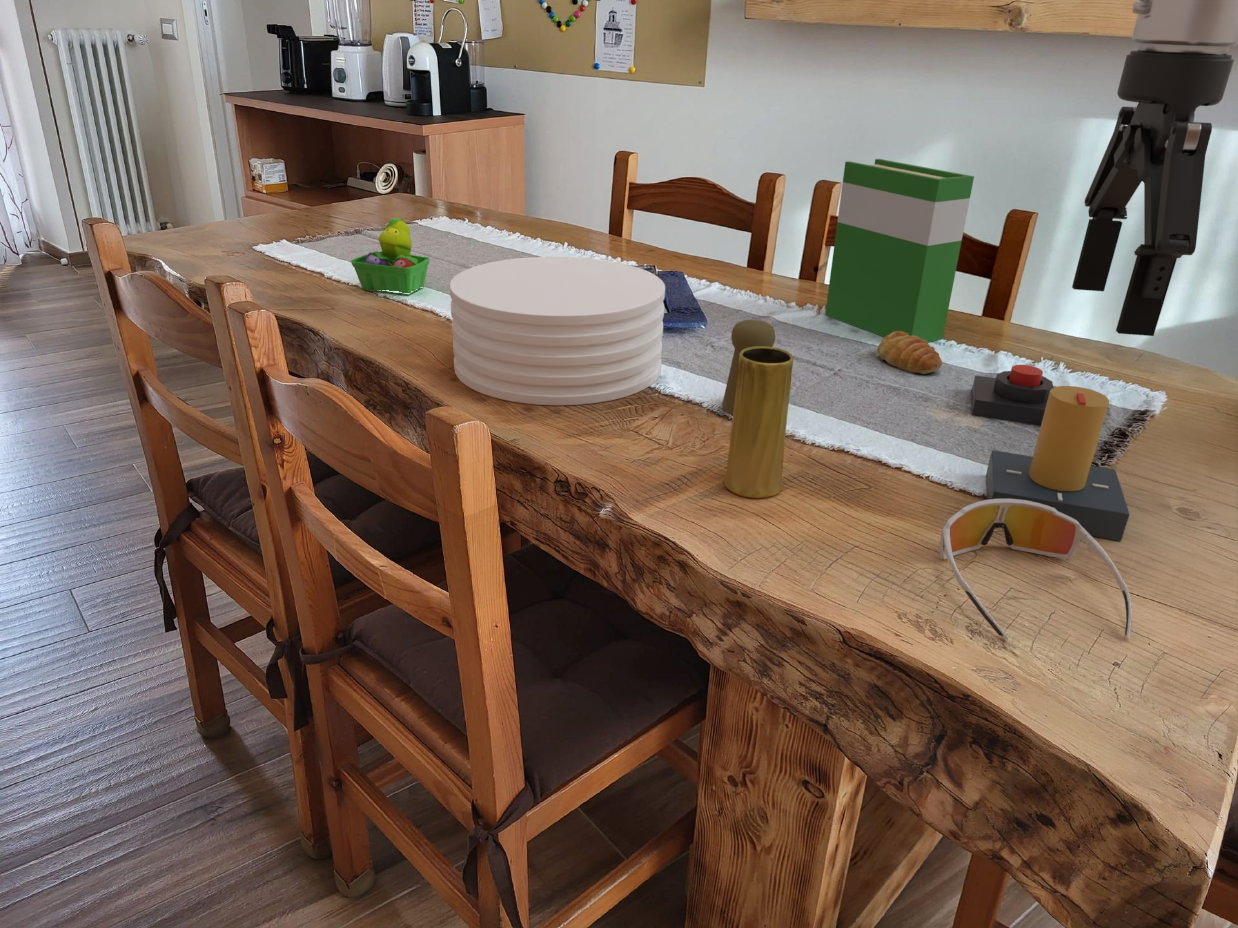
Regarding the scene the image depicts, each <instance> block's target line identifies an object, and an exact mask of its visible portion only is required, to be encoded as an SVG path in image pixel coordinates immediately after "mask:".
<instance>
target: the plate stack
mask: <svg viewBox="0 0 1238 928" xmlns="http://www.w3.org/2000/svg"><path fill="white" fill-rule="evenodd" d="M449 296H450V299H451V301H450V315H451V319H452V320H451V334H452V337H453V338H452V353H453V355H454V357H453V370H454V373H455V376H456V378H457V379H458V380H459V381H460V382H461V383H462V384H463V385H465V386H466V387H468V388H470V389H471V390H472V391H475V392H477V393H480V394H483V395H485V396H488V397H492V398H495V399H499V400H502V401H508V402H512V403H517V404H518V403H519V404H528V405H535V406H536V405H537V406H582V405H583V406H584V405H591V404H599V403H604V402H605V403H606V402H610V401H615V400H619V399H624V398H626V397H629V396H632V395H635V394H637V393H639V392H642V391H643V390H645V389H647V388H649V387H651V386H652V385H653V384H654V383H656V381H657V380H658V379H659V378H660V375H661V373H662V353H663V339H662V338H663V336H664V322H663V319H664V317H665V303H664V301H665V297H666V285H665V282H664V281H663V280H662V279H661V278H660V277H658V275H655V274H654V273H652V272H650V271H648V270H645V269H644V268H640V267H637V266H634V265H630V264H627V263H621V262H616V261H612V260H605V259H598V258H589V257H588V258H587V257H573V256H533V257H521V258H520V257H518V258H510V259H502V260H496V261H492V262H491V261H490V262H486V263H483V264H478V265H475V266H472V267H469V268H466V269H464V270H462V271H461V272H459V273H457V274H455V276H454V277H452V278H451V279H450V282H449Z"/></svg>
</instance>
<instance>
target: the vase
mask: <svg viewBox="0 0 1238 928" xmlns="http://www.w3.org/2000/svg"><path fill="white" fill-rule="evenodd" d="M794 361H795V359H794V355H793V354H792V353H791V352H789V351H788V350H786V349H783V348H779V347H775V346H773V347H768V346H756V347H749V348H745V349H743V350H742V351H741V352H740V356H739V365H738V375H737V384H736V394H735V403H734V411H733V415H732V422H731V428H730V436H729V437H730V438H729V447H728V456H727V464H726V471H725V474H724V477H723V484H724V486H725V488H726V489H727V490H729V492H731V493H733V494H735V495H738V496H740V497H745V498H749V499H764V498H771V497H774V496H776V495H778V494H779V493H780V492H782V490H783V489H784V482H783V469H784V458H785V447H786V446H785V445H786V433H787V423H788V413H789V412H788V411H789V404H790V395H791V388H792V387H791V386H792V376H793V375H792V373H793V366H794Z"/></svg>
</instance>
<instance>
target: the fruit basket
mask: <svg viewBox="0 0 1238 928" xmlns="http://www.w3.org/2000/svg"><path fill="white" fill-rule="evenodd" d="M378 242H379V245H380V249H381V251H377V250H374V251H370V252H368V253H367V254H364V255H361V256H357V257H356V258H353V259H351V260H350V263H351V265H352V267H353V268H354V271H355V273H356V276H357V278H358V281H359V284H360V287H361V289H362V290H363V291H370V292H371V291H372V292H379V293H387V294H395V295H403V296H410V295H411V294H414V293H416V292H418V291H419V290H422V289H423V288H425V287H424V286H425V281H426V276H427V271H428V266H429V264H430V260H431V258H430V257H427V256H422V255H421V256H420V255H414V254H411V250H412V245H413V243H412V238H411V229H410V226H409V225H408V224H407V223H406V222H405V219H403V218H399V217H393V218H392V219H390V221H389V222H388V224H387V225H386V226H385V229H384V230H383V231H382V232H381V233H380V234H379V236H378ZM420 287H423V288H420ZM419 288H420V289H419ZM416 289H419V290H417V291H415V290H416ZM377 290H381V291H377ZM382 290H389V291H399V292H402V293H411V291H415V292H412V293H411V294H401V293H393V292H386V291H382Z"/></svg>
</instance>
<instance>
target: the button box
mask: <svg viewBox="0 0 1238 928" xmlns="http://www.w3.org/2000/svg"><path fill="white" fill-rule="evenodd" d="M1010 373H1011V370H1004V371H1001V372H999V373H997V374H996V376H995V377H990V376H982V375H974V379H973V383H972V388H971V416H973V417H978V418H986V419H992V420H998V421H1005V422H1006V421H1007V422H1013V423H1020V424H1026V425H1032V426H1033V425H1034V426H1040V427H1041V424H1042V420H1043V416H1044V412H1045V408H1046V404H1047V400H1048V397H1049V393H1050V390H1051V389H1052V388H1054V387H1057V386H1055V385H1054V384H1053V381H1052V380H1051V379H1049V378H1048V377H1045V375H1042V378H1041V382H1040V386H1023V385H1019V384H1015V383H1012V382H1011V381H1009V377H1010Z"/></svg>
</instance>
